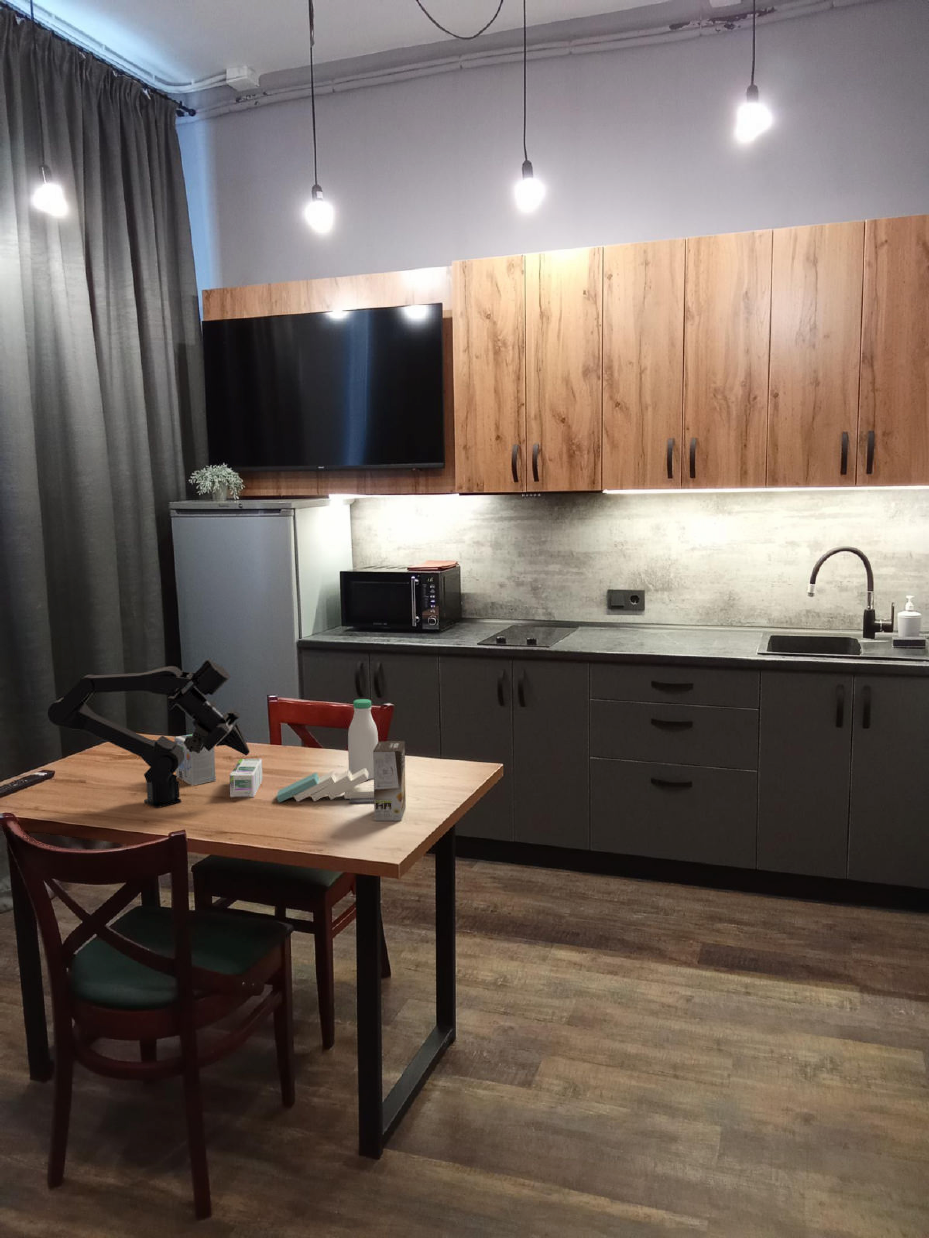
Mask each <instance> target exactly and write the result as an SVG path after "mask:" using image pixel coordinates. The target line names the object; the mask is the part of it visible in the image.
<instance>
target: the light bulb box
mask: <svg viewBox="0 0 929 1238" xmlns="http://www.w3.org/2000/svg"><path fill="white" fill-rule="evenodd" d="M192 734H193V733H192ZM192 734H191V733H190V734H186V735H179V736H174V742H178V743H177V744H176V745H179V746H180V747H181V748H182V749H183V752H184V760H183V762H182V763H181V765H180V766H179V767H178V768H177V769H176V771H175V775H177V779H180V780H182V781H183V780H184V781H183V782H185V783H186V784H188V785H190V784H191V785H193V786H196V785H195V784H198V785H201V784H202V783H204V784H207V782H209V783H212V782H211V781H214V782H216V779H217V778H216V777H217V776H216V756H215V755H216V753H215V751H216V750H215V746H214V747H213V748H212V749H211V750H210V751H208V750H207V749H206V748H205V747H203V749H202V751H200V753H196V752H194V751H192V752H189V750H188V749H186V748H187V747H186V746H185V744H184V741H185V739H186V737H187V736H192ZM191 785H190V786H191ZM202 785H203V784H202Z"/></svg>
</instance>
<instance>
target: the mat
mask: <svg viewBox="0 0 929 1238" xmlns="http://www.w3.org/2000/svg"><path fill="white" fill-rule="evenodd" d="M354 804H355V805H356V804H361V805H362V804H374V798H349V805H354Z"/></svg>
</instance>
